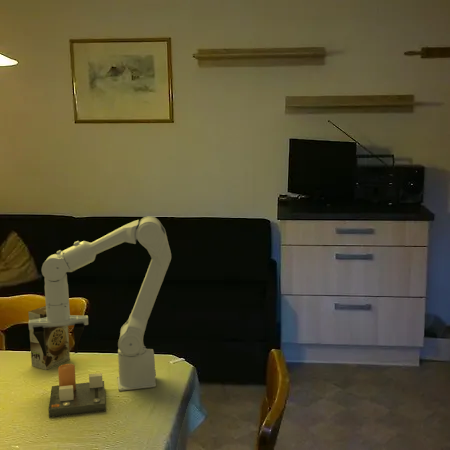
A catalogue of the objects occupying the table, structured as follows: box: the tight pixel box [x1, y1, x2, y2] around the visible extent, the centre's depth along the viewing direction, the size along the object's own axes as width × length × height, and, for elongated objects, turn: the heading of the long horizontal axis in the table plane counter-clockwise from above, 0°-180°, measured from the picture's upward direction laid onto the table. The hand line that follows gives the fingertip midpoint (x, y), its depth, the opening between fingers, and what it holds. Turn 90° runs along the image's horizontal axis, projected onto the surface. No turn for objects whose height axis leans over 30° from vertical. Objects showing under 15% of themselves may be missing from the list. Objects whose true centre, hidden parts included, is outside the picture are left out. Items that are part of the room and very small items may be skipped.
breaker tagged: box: [58, 385, 74, 401], centre depth 147 cm, size 3×2×3 cm, turn 102°
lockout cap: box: [57, 363, 77, 392], centre depth 152 cm, size 4×4×6 cm
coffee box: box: [27, 305, 71, 371], centre depth 173 cm, size 9×6×16 cm
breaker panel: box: [47, 380, 107, 419], centre depth 150 cm, size 13×13×2 cm
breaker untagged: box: [88, 372, 104, 388], centre depth 154 cm, size 3×2×3 cm, turn 102°
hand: (60, 353), depth 157 cm, fingers open, 7 cm apart
